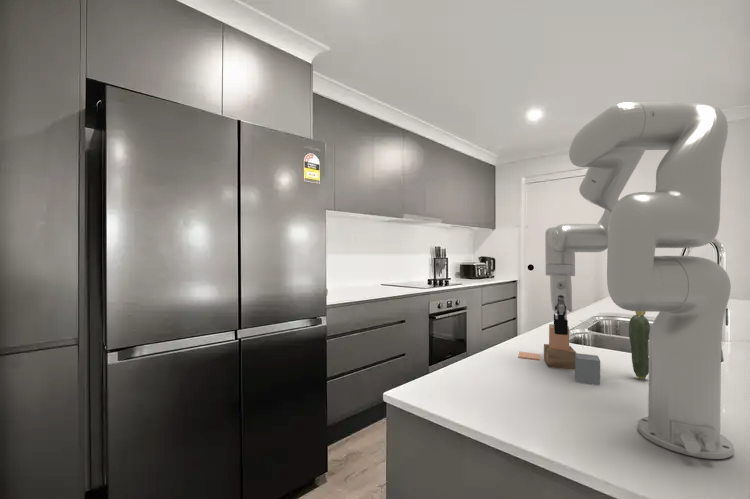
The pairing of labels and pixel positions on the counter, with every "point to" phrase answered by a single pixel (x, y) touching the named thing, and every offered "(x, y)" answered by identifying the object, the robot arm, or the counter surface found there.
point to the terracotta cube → (558, 340)
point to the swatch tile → (529, 355)
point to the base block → (559, 358)
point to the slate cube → (587, 369)
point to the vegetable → (639, 343)
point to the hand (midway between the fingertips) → (560, 331)
